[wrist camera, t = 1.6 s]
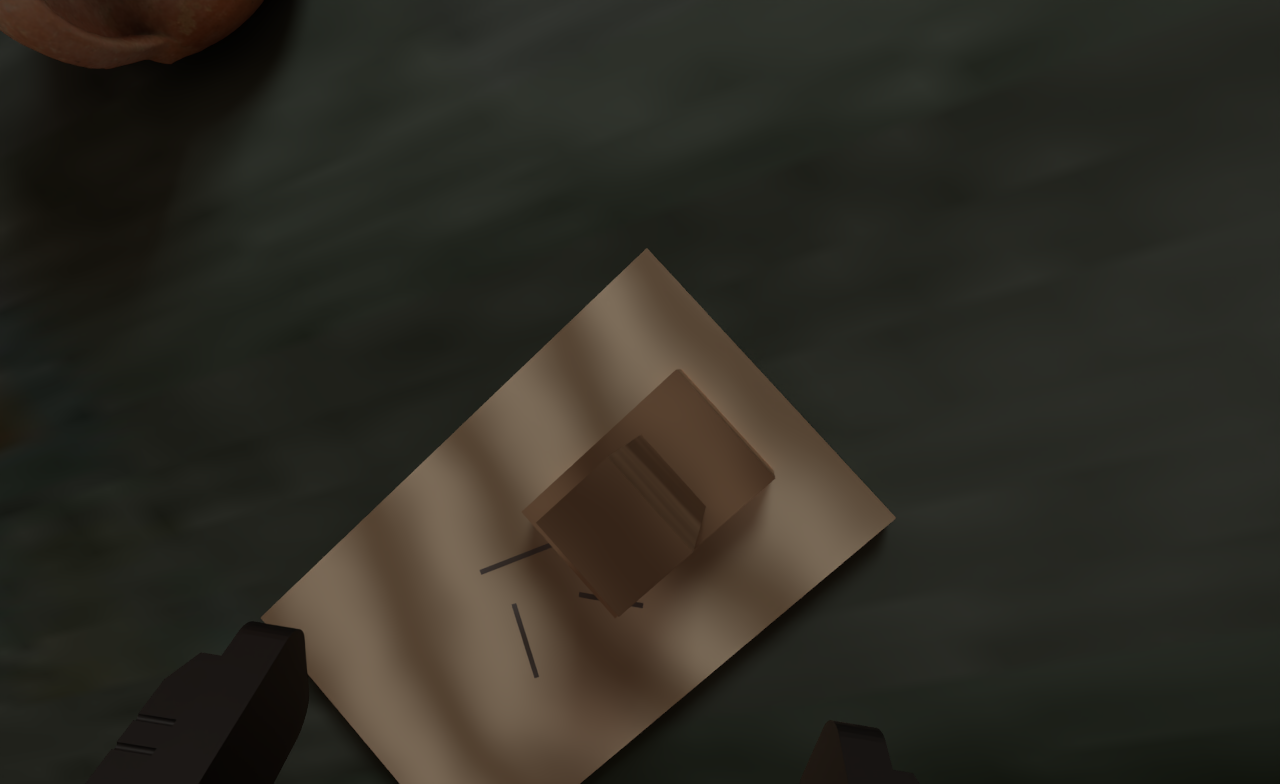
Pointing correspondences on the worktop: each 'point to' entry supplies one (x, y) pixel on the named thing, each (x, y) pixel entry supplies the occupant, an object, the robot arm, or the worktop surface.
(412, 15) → the worktop surface
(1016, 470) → the worktop surface
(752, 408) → the birch board
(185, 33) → the ceramic jug
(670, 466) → the block
